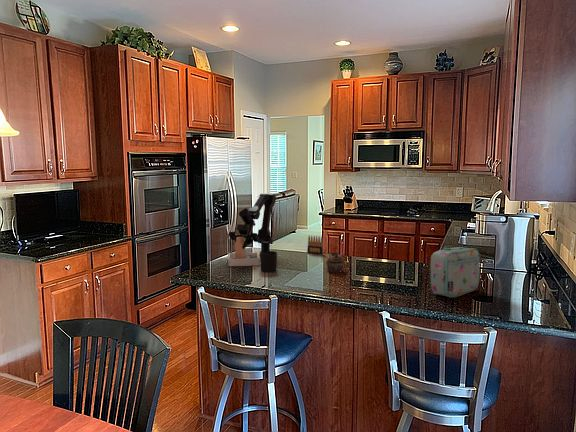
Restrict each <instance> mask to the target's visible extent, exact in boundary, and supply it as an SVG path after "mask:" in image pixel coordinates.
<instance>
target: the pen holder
mask: <svg viewBox="0 0 576 432" xmlns="http://www.w3.org/2000/svg"><path fill="white" fill-rule="evenodd" d="M259 257H260V265H259V266H260V271H261V272H263V273H274V272H276V271H277V269H278V268H277V266H278V252H277V251H273V250H270V251H267V252H265V253H261V252H260V251H259Z"/></svg>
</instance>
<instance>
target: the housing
mask: <svg viewBox="0 0 576 432" xmlns="http://www.w3.org/2000/svg"><path fill="white" fill-rule="evenodd" d="M227 261H228V267H245V266H246V267H248V266H249V267H250V266H252V265H254V266H260V253H259V251H258V252H246V258H245V259H235V252H228V260H227Z"/></svg>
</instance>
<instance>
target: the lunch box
mask: <svg viewBox="0 0 576 432" xmlns="http://www.w3.org/2000/svg"><path fill="white" fill-rule="evenodd" d="M480 258H481V257H480V252H479V250H478V249H477V248H475V247H474V248H473V247H472V248H468V247H462V246H461V247H460V246H457V247H450V248H449V247H443V248H442V249H439V250H437V251H435V252H433V253H432V254H431V256H430V267H429V268H430V289H431V292H432V293H433V294H434V295H439V296H443V297H447V298H450V299H451V298H457V297H460V296H462V295H463V296H464V295H465V294H469V293H471V292H474V291H476V289H478V287H479V285H480V277H481V274H480V265H481V264H480V260H481V259H480Z"/></svg>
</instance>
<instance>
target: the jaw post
mask: <svg viewBox="0 0 576 432" xmlns="http://www.w3.org/2000/svg"><path fill="white" fill-rule="evenodd" d="M244 242H245V238H244V237H241V236H240V237H237V238H236V242H235V241H234V253H235V259H245V258H246V253H247V252H246V247H245V248H244V249H243V248H242V247H243V244H244Z"/></svg>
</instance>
